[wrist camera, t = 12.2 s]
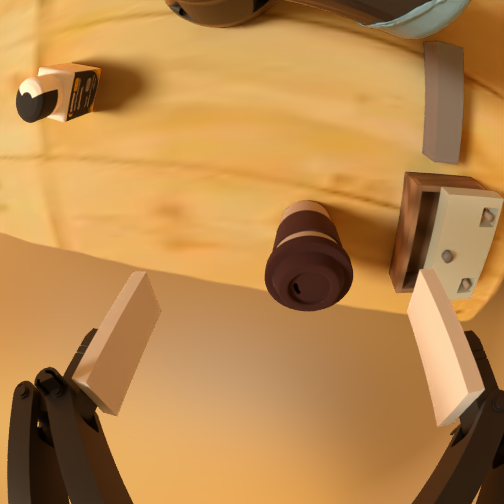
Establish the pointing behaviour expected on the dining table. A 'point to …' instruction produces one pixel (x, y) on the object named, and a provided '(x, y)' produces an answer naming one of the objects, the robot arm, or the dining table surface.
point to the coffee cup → (308, 260)
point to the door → (462, 238)
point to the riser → (443, 101)
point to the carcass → (421, 224)
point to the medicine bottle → (58, 92)
